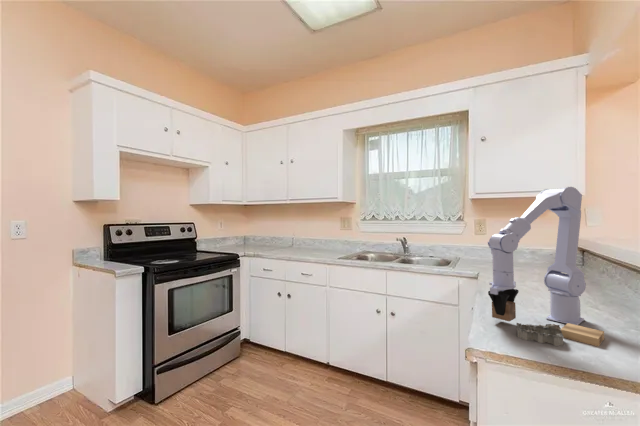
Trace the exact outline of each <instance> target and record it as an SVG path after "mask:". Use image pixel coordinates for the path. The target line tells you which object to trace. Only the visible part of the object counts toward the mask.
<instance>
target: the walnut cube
mask: <svg viewBox="0 0 640 426" xmlns="http://www.w3.org/2000/svg"><path fill="white" fill-rule="evenodd" d="M516 310H517V309H516V302H515V301H514V302H511V301H507V302H506V307H505V314H504V315H503V316H502V315H498V314H496V312H495V308H494V305H493V302H492V301H491V317H492V318H494V319H498V320H500V321H501V320H503V321H505V322H511V321H513V320H515V319H516V318H517V317H516V316H517V313H516Z"/></svg>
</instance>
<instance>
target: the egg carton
mask: <svg viewBox="0 0 640 426" xmlns="http://www.w3.org/2000/svg"><path fill="white" fill-rule="evenodd" d="M515 326H516V333H517V337H518V338H519V339H522V340H523V341H529V340H530V341H535V342H537V343H539V344H543V343H548V344H551V345H553V346H555V347H556V346H557V347H559V346H564V339H565V338H564V337H563V334H562V332H561V328H562V327H560V324H555V323H553V324H551V323H546V324H545V325H541V324H538V325H537V324H536V325H534V324H530V323H529V324H522V322H521V323H520V322H516V325H515Z"/></svg>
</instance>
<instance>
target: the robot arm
mask: <svg viewBox="0 0 640 426" xmlns="http://www.w3.org/2000/svg"><path fill="white" fill-rule="evenodd" d="M582 200H583V194H582V193H581V191H579V190H578V189H577V188H576V187H574V186H567V187H566V186H565V187H559V188H551V189H550V188H545V189H543V190H541V191H540V192H539V193H538V194H537V195H536V196H535V200H534V201H533V203H532V204H530V206H529V207H528V208H527V209H526V210H525V211H524V213H523V214H522V215H520V217H518V216H517V217H514V218H510V219H509V222H508V223H507V224H506V225H505V226H504V227H503V228H501V229H500V230H499V232H498V233H494V234H493V235H491V236H490V237H489V240H488V241H487V245H488V247H489V249H490V253H491V255H492V281H490V282H488V283H489V285H490V287H489V290H488V292H487V294H488V296H489V298H490V299H491V303H492V302H493V305H494V308H495V312H496V314H498V315H502V316H503V315H504V314H505V307H506V302H507V301H511V302H515V299H516V297H517V296H518V293H519V289H516V288H517V287H516V286H517V282H516V281H515V279H514V276H515V275H514V274H515V273H514V252H515V251H516V250H517V249H518V247H519V243H520V241H521V240H522V238H523V237H524V236H526V234H527V233H529V231H531V230H532V227H531V224H532V223H533V222H534V221H536V220H537V219H538V218H539V217H541V216H542V215H543V214H544V213H545V212H546V211H548V210H549V211H550V212H552V213H554V214H555V215H556V216H557V217H558V225H557V238H556V243H555V244H556V246H555V255H554V262H553V263H552V264H550V265H549V266H547V269H546V273H545V275H544V276H543V282H544V286H545V287H546V288H547V289H548V291H549V293H550V294H549V295H550V298H549V299H550V301H549V303H550V314H549V315H548V316H546V317H545V319H546V320H549V321H554V322H558V323H562V324H565V325H566V324H567V323H570V324H574V325H579V326H580V324H581V323H583V322H584V321H585V318H584V317H581V299H580V297H581V296H582V294H583V293H584V292H585V291H586V288H587V287H586V286H587V285H586V280H585V273H584V271H582V270H581V269H580V268H579V267H578V266H577V259H578V248H579V237H580V229H581V218H582V210H581V209H582Z"/></svg>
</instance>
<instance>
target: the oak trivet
mask: <svg viewBox="0 0 640 426" xmlns="http://www.w3.org/2000/svg"><path fill="white" fill-rule="evenodd" d="M560 328H561V332H562V334H563V337H564V338H563V339H568V340H573V341H576V342H579V343H583V344H587V345H590V346H595V347H599V346H600V345H601V344H602V342H604V341H605V331H604V330H599V329H595V328H591V327H586V326H583V325H580V324H579V325H574V324H570V323H567V324H566V323H565V325H564V326H562V327H560Z"/></svg>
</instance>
